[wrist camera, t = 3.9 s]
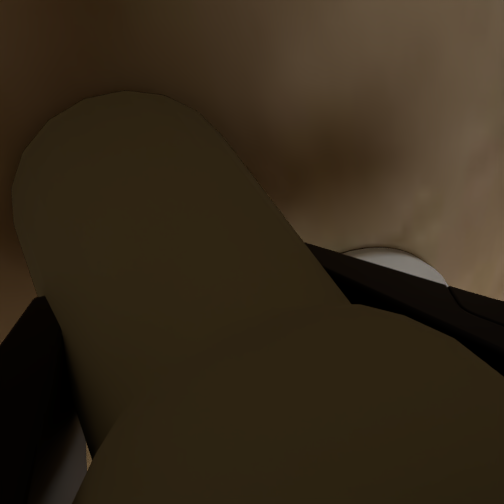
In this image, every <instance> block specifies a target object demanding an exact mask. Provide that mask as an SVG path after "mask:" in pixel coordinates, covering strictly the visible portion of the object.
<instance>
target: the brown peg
mask: <svg viewBox="0 0 504 504" xmlns="http://www.w3.org/2000/svg"><path fill="white" fill-rule="evenodd" d="M11 192H12V207H13V221H14V227H15V230H16V233H17V236H18V239H19V242H20V245H21V248H22V251H23V254H24V257H25V260H26V263H27V266H28V269H29V272H30V275H31V278H32V281H33V284H34V287H35V290H36V293H37V296H38V297H40V296H44V295H45V297H46V299H47V301H48V303H49V305H50V307H51V309H52V311H53V313H54V315H55V317H56V319H57V321H58V323H59V325H60V327H61V330H62V336H63V343H64V350H65V357H66V365H67V372H68V380H69V387H70V395H71V398H72V401H73V404H74V407H75V410H76V413H77V416H78V419H79V422H80V425H81V428H82V431H83V434H84V437H85V440H86V443H87V446H88V449H89V452H90V455H91V458H92V463H91V465H90V467H89V469H88V471H87V473H86V475H85V477H84V479H83V481H82V484H81V486H80V488H79V490H78V492H77V494H76V496H75V498H74V500H73V502H72V504H504V376H502V375H501V374H500V373H498V372H497V371H496V370H494V369H493V368H492V367H491V366H489V365H488V364H487V363H485V362H484V361H483V360H482V359H480V358H479V357H478V356H476V355H475V354H474V353H473V352H471V351H470V350H469V349H467V348H466V347H465V346H464V345H462V344H461V343H460V342H458V341H457V340H456V339H454V338H452V337H450V336H448V335H446V334H444V333H442V332H439V331H437V330H435V329H433V328H431V327H428V326H426V325H424V324H422V323H420V322H418V321H415V320H413V319H411V318H409V317H407V316H405V315H401V314H397V313H393V312H389V311H385V310H381V309H377V308H373V307H369V306H365V305H361V304H351V303H350V302H349V300H348V299H347V298H346V297H345V295H344V294H343V293H342V291H341V290H340V289H339V287H338V286H337V285H336V284H335V282H334V281H333V280H332V278H331V277H330V276H329V274H328V273H327V272H326V271H325V269H324V268H323V267H322V265H321V264H320V263H319V261H318V260H317V259H316V258H315V256H314V255H313V254H312V252H311V251H310V250H309V248H308V247H307V246H306V245H305V243H304V242H303V241H302V239H301V238H300V237H299V235H298V234H297V233H296V232H295V230H294V229H293V228H292V226H291V225H290V224H289V222H288V221H287V220H286V219H285V217H284V216H283V215H282V213H281V212H280V211H279V209H278V208H277V207H276V206H275V204H274V203H273V202H272V200H271V199H270V198H269V196H268V195H267V194H266V193H265V191H264V190H263V189H262V187H261V186H260V185H259V183H258V182H257V181H256V180H255V178H254V177H253V176H252V174H251V173H250V172H249V170H248V169H247V168H246V167H245V165H244V164H243V163H242V161H241V160H240V159H239V157H238V156H237V155H236V154H235V152H234V151H233V150H232V148H231V147H230V146H229V144H228V143H227V142H226V141H225V139H224V138H223V137H222V135H221V134H220V133H219V132H218V131H217V130H216V129H215V128H214V127H213V126H212V125H211V124H210V123H209V122H208V121H207V120H206V119H205V118H204V117H203V116H202V115H201V114H199V113H198V112H197V111H196V110H194V109H192V108H190V107H187V106H185V105H183V104H181V103H179V102H177V101H175V100H173V99H171V98H169V97H167V96H165V95H158V94H150V93H141V92H133V91H120V92H115V93H111V94H106V95H101V96H96V97H91V98H86V99H83V100H82V101H80V102H78V103H77V104H75V105H73V106H72V107H70V108H68V109H67V110H65V111H63V112H62V113H60V114H58V115H57V116H55V117H53V118H52V119H50V120H48V122H47V123H46V124H45V125H44V127H43V128H42V129H41V130H40V131H39V133H38V134H37V135H36V136H35V138H34V139H33V140H32V141H31V142H30V144H29V145H28V146H27V147H26V149H25V150H24V151H23V153H22V156H21V160H20V163H19V166H18V169H17V172H16V175H15V178H14V181H13V184H12V187H11Z"/></svg>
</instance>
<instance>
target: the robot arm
mask: <svg viewBox="0 0 504 504" xmlns="http://www.w3.org/2000/svg"><path fill="white" fill-rule="evenodd" d="M304 243H305V242H304ZM305 245H306V246H307V247H308V248H309V250H310V251H311V252H312V254H313V255H314V256H315V258H316V259H317V260H318V261H319V263H320V264H321V265H322V267H323V268H324V269H325V271H326V272H327V273H328V274H329V276H330V277H331V278H332V280H333V281H334V282H335V284H336V285H337V286H338V287H339V289H340V290H341V291H342V293H343V294H344V295H345V297H346V298H347V299H348V300H349V302H350V303H351V304H361V305H365V306H369V307H373V308H377V309H381V310H385V311H389V312H393V313H397V314H401V315H405V316H407V317H409V318H411V319H413V320H415V321H418V322H420V323H422V324H424V325H426V326H428V327H431V328H433V329H435V330H437V331H439V332H442V333H444V334H446V335H448V336H450V337H452V338H454V339H456V340H457V341H458V342H460V343H461V344H462V345H464V346H465V347H466V348H467V349H469V350H470V351H471V352H473V353H474V354H475V355H476V356H478V357H479V358H480V359H482V360H483V361H484V362H485V363H487V364H488V365H489V366H491V367H492V368H493V369H494V370H496V371H497V372H498V373H500V374H501V375H502V376H504V301H500V300H496V299H493V298H489V297H486V296H482V295H479V294H475V293H472V292H468V291H465V290H462V289H458V288H455V287H452V286H448V287H447V286H446V285H445V284H441V283H438V282H435V281H431V280H428V279H425V278H421V277H418V276H415V275H411V274H408V273H405V272H401V271H398V270H395V269H391V268H388V267H385V266H381V265H378V264H375V263H371V262H368V261H365V260H361V259H358V258H355V257H351V256H348V255H345V254H341V253H338V252H335V251H331V250H328V249H325V248H321V247H318V246H315V245H311V244H308V243H305ZM86 473H87V462H86V440H85V437H84V434H83V431H82V428H81V425H80V422H79V419H78V416H77V413H76V410H75V407H74V404H73V401H72V398H71V395H70V387H69V380H68V372H67V365H66V357H65V350H64V343H63V336H62V330H61V327H60V325H59V323H58V321H57V319H56V317H55V315H54V313H53V311H52V309H51V307H50V305H49V303H48V301H47V299H46V297H45V295H44V296H40V297H36V298H34V299H33V300H32V302H31V303H30V304H29V306H28V307H27V309H26V310H25V311H24V313H23V314H22V316H21V317H20V318H19V320H18V321H17V323H16V324H15V325H14V327H13V328H12V329H11V331H10V332H9V334H8V335H7V336H6V338H5V339H4V341H3V342H2V343H1V345H0V504H72V502H73V500H74V498H75V496H76V494H77V492H78V490H79V488H80V486H81V484H82V481H83V479H84V477H85V475H86Z"/></svg>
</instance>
